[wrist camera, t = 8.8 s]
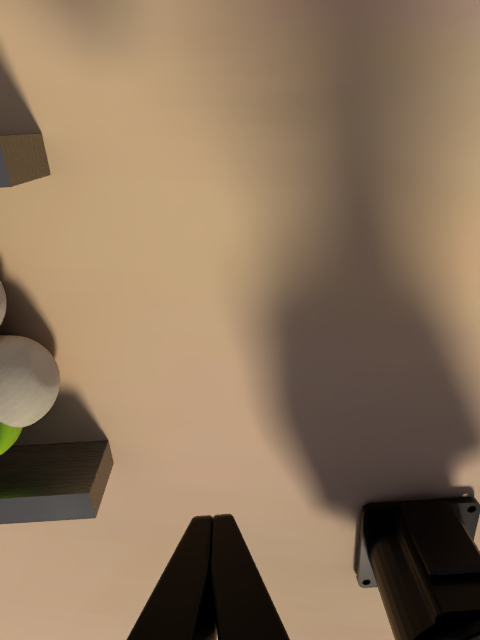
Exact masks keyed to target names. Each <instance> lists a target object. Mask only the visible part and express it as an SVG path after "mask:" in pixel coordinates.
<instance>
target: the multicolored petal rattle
mask: <svg viewBox="0 0 480 640" xmlns="http://www.w3.org/2000/svg"><path fill="white" fill-rule="evenodd" d="M5 313H6V294H5V290H4V288H3V285H2V282H1V281H0V326H1V324H2V322H3V319H4V317H5ZM59 387H60V373H59V369H58V366H57V363H56V361H55V359H54V358H53V356H52V355H51V353H50V352H49V351H48V350H47V349H46V348H45V347H43V346H42V345H41V344H39V343H37V342H36V341H34V340H32V339H29V338H26V337H22V336H14V335H2V336H0V455H1V454H3V453H4V452H5V451H7V450H8V449H9V448H10V447H11V446H12V445H13V444H14V442H15V441H16V440H17V439H18V437H19V435H20V433H21V430H22V427H25V426H29V425H31V424H33V423H35V422H36V421H38V420H39V419H40V418H42V417H43V416H44V415H45V414H46V413H47V412H48V411H49V410H50V408H51V407H52V405H53V404H54V402H55V400H56V398H57V395H58V392H59Z"/></svg>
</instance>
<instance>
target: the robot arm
mask: <svg viewBox="0 0 480 640" xmlns="http://www.w3.org/2000/svg"><path fill="white" fill-rule="evenodd" d="M372 512H373V513H372ZM479 514H480V504H479V503H478V501H477V500H476V499H475V498H473V497H460V498H444V499H429V500H413V501H398V502H382V503H370V504H367V505H365V506H364V507H363V508H362V513H361V525H360V538H359V551H358V563H357V576H356V577H357V581H358V584H359V586H360V587H363V588H372V587H378V589H379V592H380V595H381V598H382V601H383V604H384V607H385V610H386V613H387V616H388V619H389V623H390V626H391V629H392V632H393V635H394V638H395V640H480V551H479V550H478V548H477V546H476V544H475V543H474V541H473V540H474V536H475V532H476V527H477V523H478V518H479ZM217 635H218V640H290V639H289V637H288V634H287V632H286V630H285V628H284V626H283V624H282V621H281V619H280V617H279V615H278V613H277V611H276V608H275V606H274V604H273V602H272V600H271V597H270V595H269V593H268V591H267V589H266V587H265V584H264V582H263V580H262V578H261V576H260V574H259V571H258V569H257V567H256V565H255V563H254V560H253V558H252V556H251V554H250V552H249V550H248V547H247V545H246V543H245V541H244V539H243V537H242V534H241V532H240V530H239V528H238V526H237V524H236V521H235V519H234V517H233V516H232V515H231V514H221V515H215V516H214V517H212V516H210V515H207V516H196V517H194V518H193V519H192V520H191V522H190V524H189V526H188V528H187V529H186V531H185V533H184V535H183V537H182V539H181V540H180V542H179V544H178V546H177V548H176V550H175V552H174V553H173V555H172V557H171V559H170V561H169V563H168V564H167V566H166V568H165V570H164V572H163V574H162V575H161V577H160V579H159V581H158V583H157V585H156V587H155V588H154V590H153V592H152V594H151V596H150V598H149V599H148V601H147V603H146V605H145V607H144V609H143V611H142V612H141V614H140V616H139V618H138V620H137V622H136V623H135V625H134V627H133V629H132V631H131V633H130V634H129V636H128V638H127V640H216V639H217Z"/></svg>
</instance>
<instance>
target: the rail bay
mask: <svg viewBox="0 0 480 640" xmlns="http://www.w3.org/2000/svg"><path fill="white" fill-rule="evenodd" d="M48 175H50V170H49V165H48V161H47V156H46V152H45V147H44V142H43V138H42V133H38V134H21V135H4V136H0V187H12V186H15V185H19V184H22V183H25V182H29V181H32V180H35V179H38V178H42V177H45V176H48ZM112 467H113V460H112V455H111V450H110V446H109V441H98V442H82V443H66V444H51V445H35V446H19V447H10V448H9V449H8V450H7V451H5V452H4V453H3V454H1V455H0V524H11V523H26V522H42V521H58V520H73V519H89V518H96V516H97V513H98V509H99V506H100V503H101V500H102V497H103V494H104V491H105V488H106V485H107V482H108V479H109V476H110V473H111V470H112Z"/></svg>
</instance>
